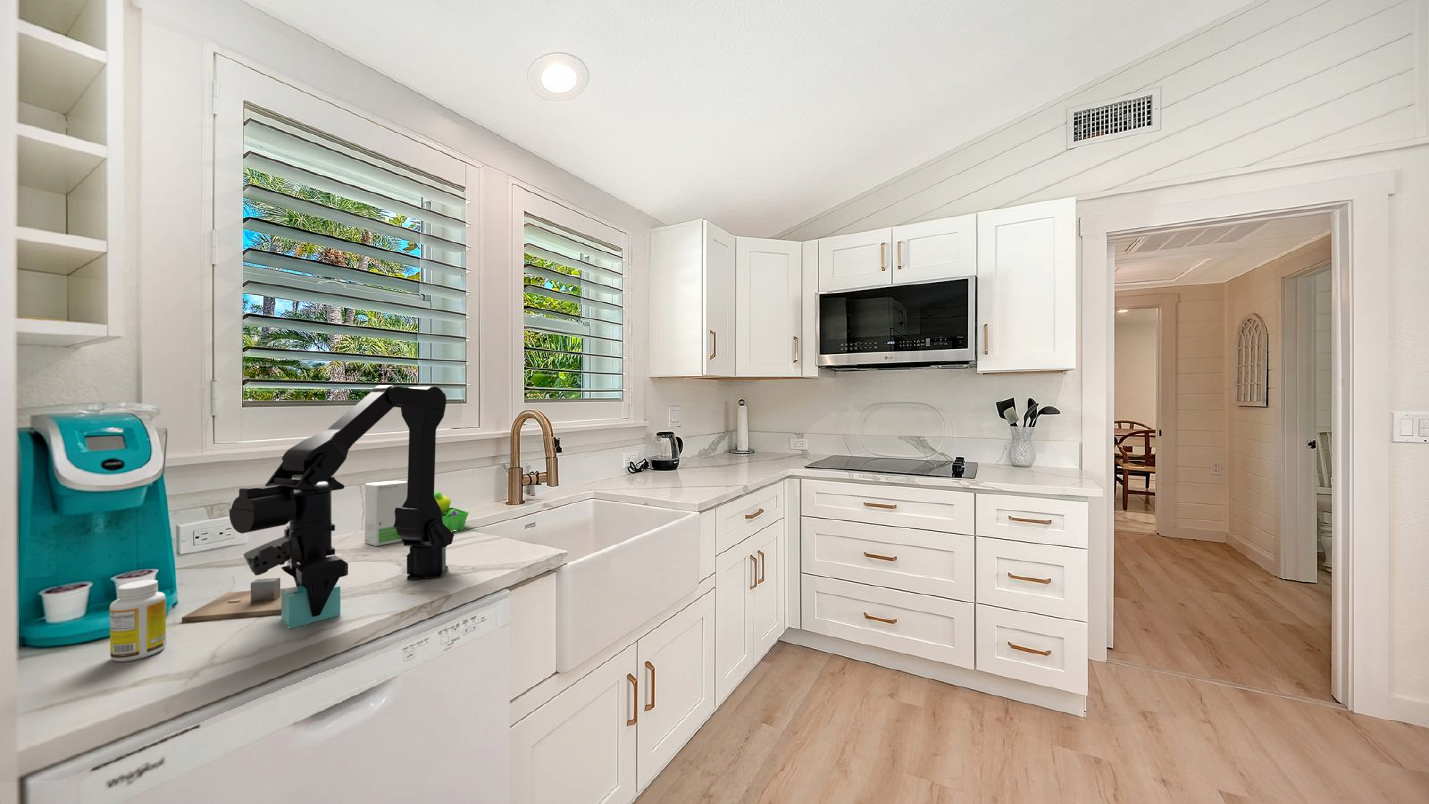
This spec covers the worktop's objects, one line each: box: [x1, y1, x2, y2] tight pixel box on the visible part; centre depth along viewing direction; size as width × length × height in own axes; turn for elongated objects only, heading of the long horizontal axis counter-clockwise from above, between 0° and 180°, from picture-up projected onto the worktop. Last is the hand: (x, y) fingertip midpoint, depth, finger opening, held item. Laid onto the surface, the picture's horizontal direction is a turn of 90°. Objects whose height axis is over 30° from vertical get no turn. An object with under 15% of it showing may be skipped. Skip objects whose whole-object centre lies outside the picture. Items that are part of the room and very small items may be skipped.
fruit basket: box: [434, 491, 469, 531], centre depth 153 cm, size 11×9×11 cm
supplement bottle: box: [109, 579, 167, 662], centre depth 78 cm, size 6×6×10 cm
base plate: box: [181, 587, 288, 623], centre depth 97 cm, size 18×12×1 cm, turn 104°
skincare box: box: [364, 480, 408, 547], centre depth 140 cm, size 8×7×16 cm
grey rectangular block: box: [250, 577, 281, 602], centre depth 97 cm, size 4×2×4 cm, turn 104°
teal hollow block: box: [280, 582, 341, 629], centre depth 91 cm, size 7×6×6 cm
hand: (311, 611), depth 91 cm, fingers closed on teal hollow block, 6 cm apart
